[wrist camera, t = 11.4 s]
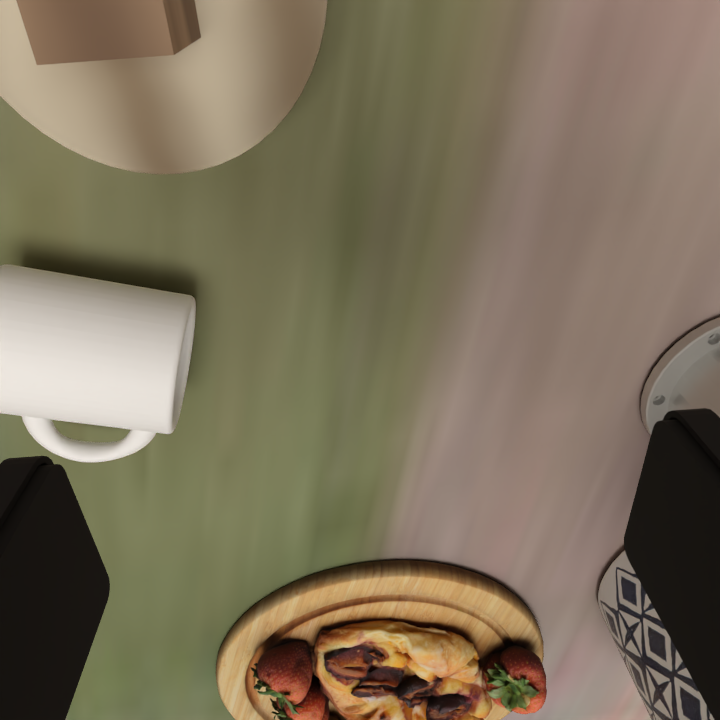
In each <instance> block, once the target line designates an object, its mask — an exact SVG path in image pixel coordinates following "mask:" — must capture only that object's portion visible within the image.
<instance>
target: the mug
mask: <svg viewBox="0 0 720 720" xmlns="http://www.w3.org/2000/svg"><path fill="white" fill-rule="evenodd" d="M195 317H196V302H195V299H194V297H193V296H191V295H186V294H180V293H174V292H168V291H163V290H157V289H151V288H145V287H139V286H133V285H127V284H122V283H116V282H110V281H104V280H98V279H92V278H86V277H81V276H75V275H69V274H63V273H57V272H51V271H45V270H40V269H34V268H28V267H22V266H16V265H10V264H6V265H1V266H0V413H3V414H11V415H19V416H22V419H23V421H24V424H25V426H26V428H27V430H28V431H29V433H30V434H31V435H32V437H33V438H34V439H35V440H36V441H37V442H38V443H39V444H40V445H42V446H43V447H44V448H46V449H47V450H49V451H51V452H52V453H54V454H57V455H59V456H61V457H64V458H67V459H70V460H74V461H80V462H103V461H109V460H114V459H118V458H122V457H125V456H128V455H130V454H133V453H135V452H137V451H138V450H140V449H142V448H143V447H145V446H146V445H147V444H148V443H149V442H150V441H151V440H152V439H153V437H154V436H155V434H156V433H164V434H170V433H172V432H173V431H174V430H175V427H176V425H177V422H178V419H179V415H180V411H181V407H182V403H183V398H184V393H185V388H186V383H187V377H188V372H189V366H190V359H191V353H192V345H193V338H194V329H195ZM52 420H60V421H68V422H76V423H84V424H92V425H100V426H108V427H116V428H124V429H131V430H130V432H129V433H128V435H127V436H126V437H125V438H124V439H122V440H120V441H115V442H87V441H79V440H74V439H71V438H68V437H66V436H64V435H62V434H61V433H60V432H59V431H58V430H57V429H56V427H55V426H54V424H53V421H52Z"/></svg>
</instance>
